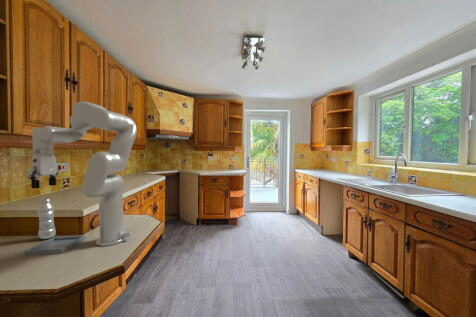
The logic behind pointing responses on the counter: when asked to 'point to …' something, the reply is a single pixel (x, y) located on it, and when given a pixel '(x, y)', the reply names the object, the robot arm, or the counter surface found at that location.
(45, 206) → the plastic bottle
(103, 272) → the counter surface
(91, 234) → the counter surface
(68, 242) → the slate tray
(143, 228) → the counter surface
